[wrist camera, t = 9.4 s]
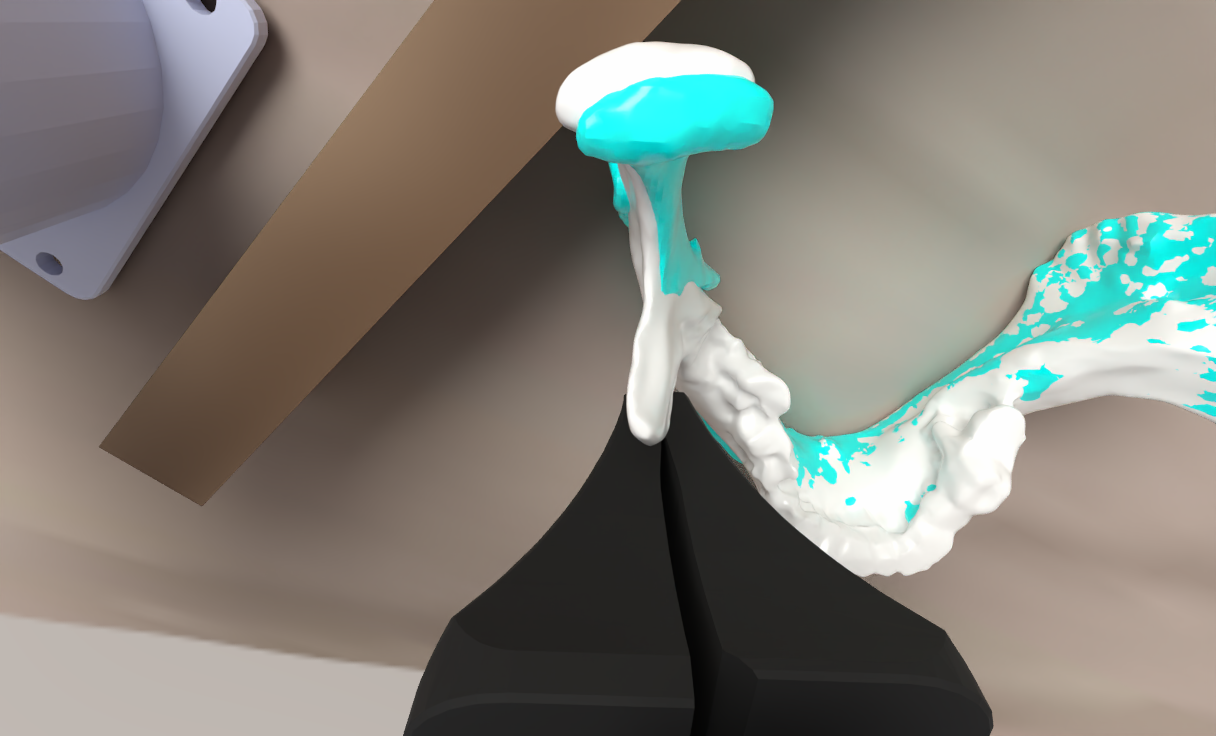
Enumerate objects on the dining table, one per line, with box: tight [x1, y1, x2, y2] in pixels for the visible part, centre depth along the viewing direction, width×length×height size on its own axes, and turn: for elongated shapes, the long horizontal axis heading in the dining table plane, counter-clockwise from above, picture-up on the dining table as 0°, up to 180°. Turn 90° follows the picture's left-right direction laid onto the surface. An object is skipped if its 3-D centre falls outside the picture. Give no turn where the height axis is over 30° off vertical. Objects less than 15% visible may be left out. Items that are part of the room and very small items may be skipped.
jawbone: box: [555, 42, 1216, 577], centre depth 10 cm, size 12×8×9 cm, turn 87°
